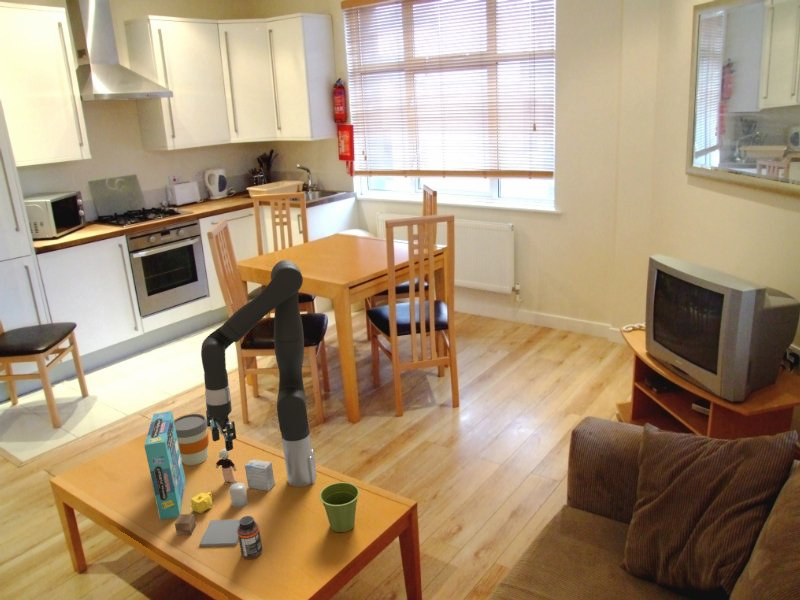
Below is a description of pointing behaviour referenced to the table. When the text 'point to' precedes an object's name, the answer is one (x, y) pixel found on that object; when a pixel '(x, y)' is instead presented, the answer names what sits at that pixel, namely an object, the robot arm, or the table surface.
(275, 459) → the table surface
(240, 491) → the white rounded cylinder
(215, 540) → the slate mat
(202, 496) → the teapot
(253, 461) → the medicine box
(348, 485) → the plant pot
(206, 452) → the reusable coffee cup
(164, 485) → the game box
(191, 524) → the walnut cube
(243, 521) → the supplement bottle
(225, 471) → the grandmother figurine
